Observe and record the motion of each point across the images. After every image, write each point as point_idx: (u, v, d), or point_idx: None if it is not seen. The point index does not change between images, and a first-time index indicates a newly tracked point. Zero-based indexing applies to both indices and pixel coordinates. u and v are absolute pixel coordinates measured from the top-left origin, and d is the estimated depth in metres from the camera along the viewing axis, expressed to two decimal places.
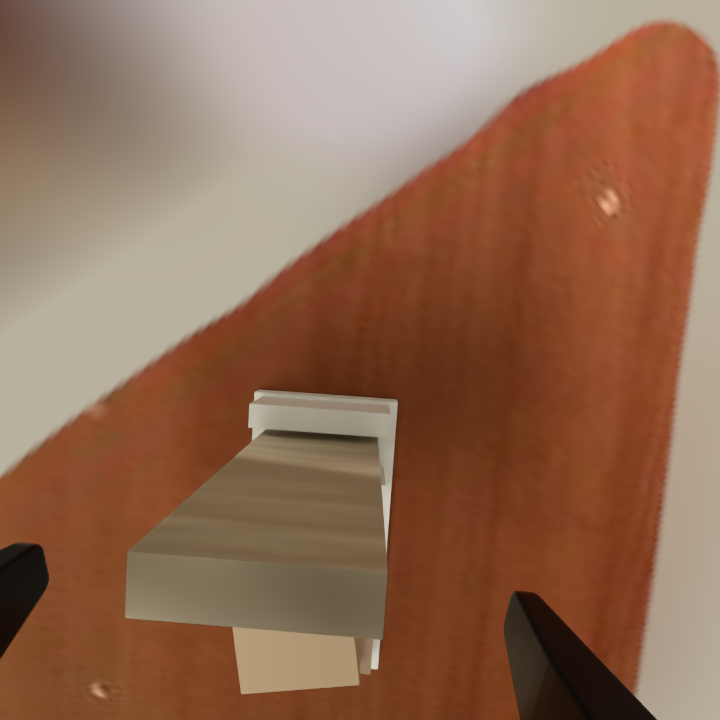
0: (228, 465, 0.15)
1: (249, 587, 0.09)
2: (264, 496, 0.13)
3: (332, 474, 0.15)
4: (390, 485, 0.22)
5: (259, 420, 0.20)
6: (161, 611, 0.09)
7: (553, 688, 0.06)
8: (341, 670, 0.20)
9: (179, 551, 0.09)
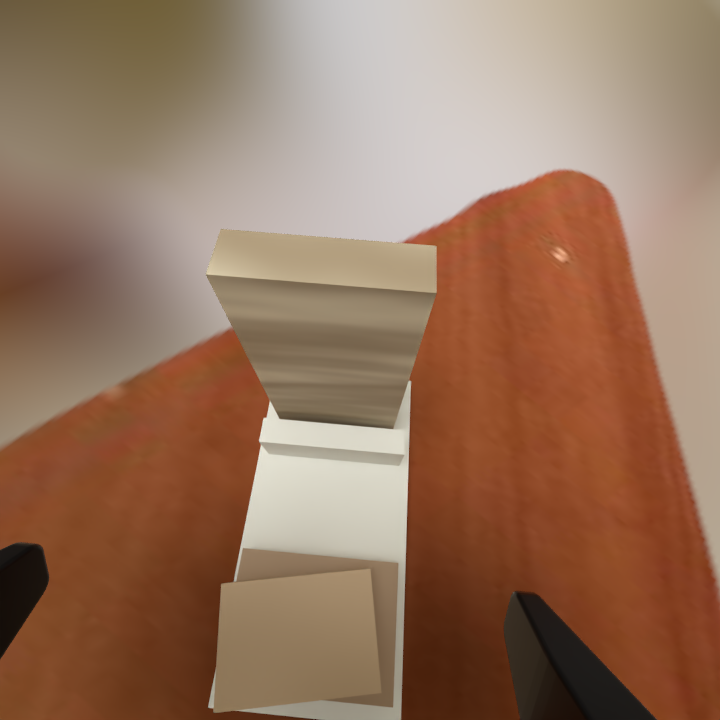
0: None
1: (320, 254, 0.11)
2: None
3: None
4: (407, 461, 0.21)
5: None
6: (239, 270, 0.10)
7: (553, 688, 0.06)
8: (357, 666, 0.15)
9: (262, 237, 0.11)
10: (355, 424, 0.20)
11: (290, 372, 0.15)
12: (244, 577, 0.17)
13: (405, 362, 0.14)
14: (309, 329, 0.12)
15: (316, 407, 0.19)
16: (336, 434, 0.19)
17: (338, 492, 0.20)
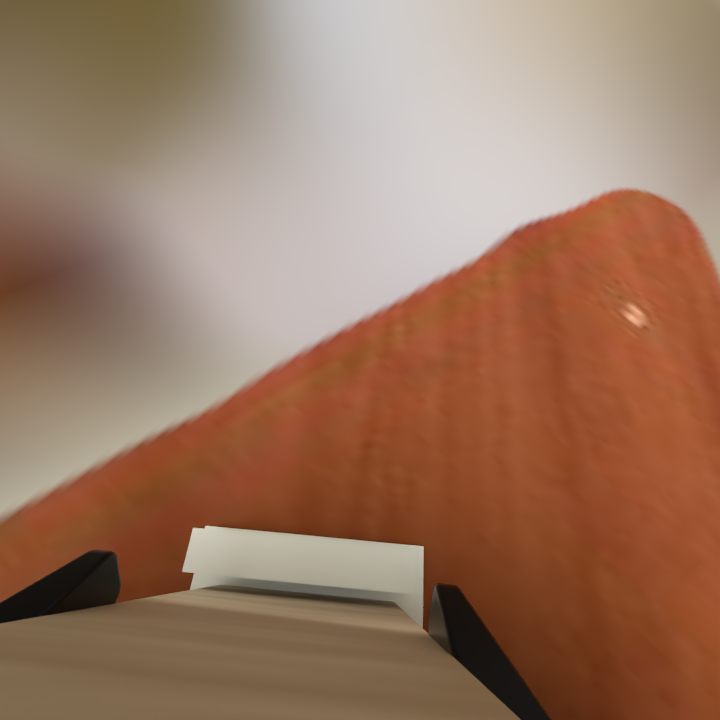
0: (119, 604, 0.07)
1: None
2: (173, 639, 0.05)
3: (332, 626, 0.07)
4: None
5: (203, 558, 0.12)
6: None
7: None
8: None
9: None
10: None
11: None
12: None
13: None
14: None
15: None
16: None
17: None
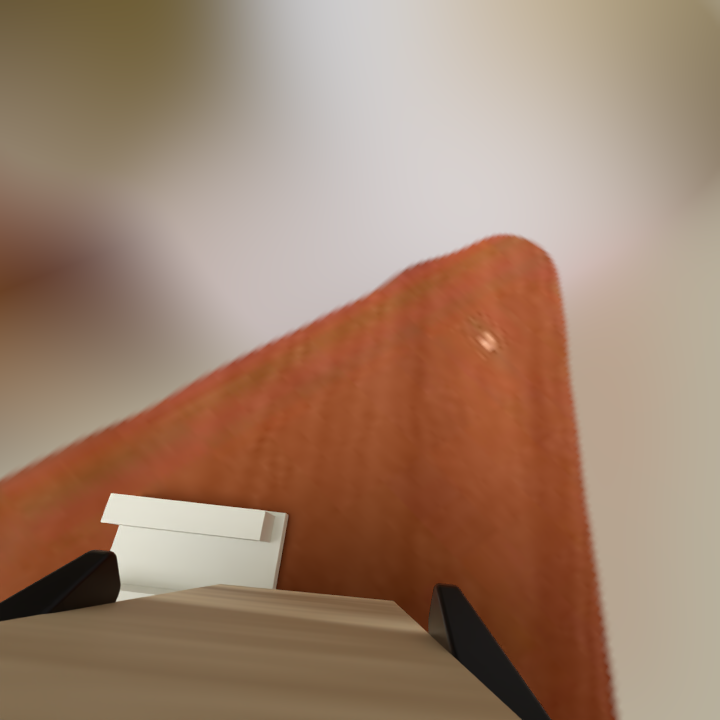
0: (118, 603, 0.07)
1: None
2: (173, 637, 0.05)
3: (331, 625, 0.07)
4: None
5: (116, 513, 0.17)
6: None
7: None
8: None
9: None
10: None
11: None
12: None
13: None
14: None
15: None
16: None
17: None
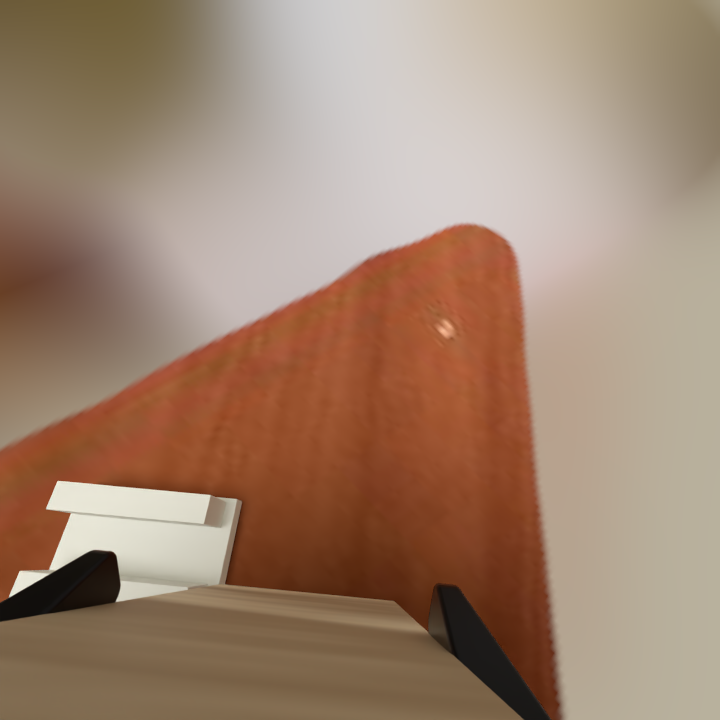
0: (119, 603, 0.07)
1: None
2: (174, 637, 0.05)
3: (332, 625, 0.07)
4: None
5: (62, 500, 0.17)
6: None
7: None
8: None
9: None
10: None
11: None
12: None
13: None
14: None
15: None
16: None
17: None
